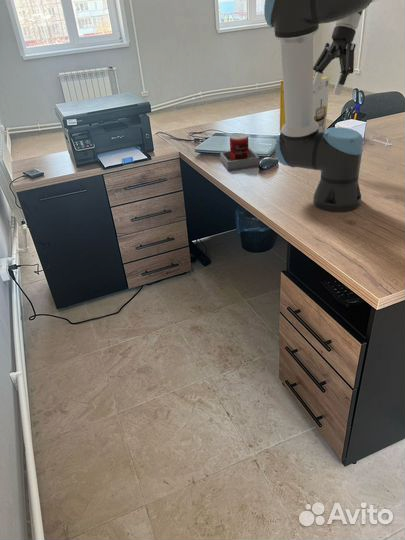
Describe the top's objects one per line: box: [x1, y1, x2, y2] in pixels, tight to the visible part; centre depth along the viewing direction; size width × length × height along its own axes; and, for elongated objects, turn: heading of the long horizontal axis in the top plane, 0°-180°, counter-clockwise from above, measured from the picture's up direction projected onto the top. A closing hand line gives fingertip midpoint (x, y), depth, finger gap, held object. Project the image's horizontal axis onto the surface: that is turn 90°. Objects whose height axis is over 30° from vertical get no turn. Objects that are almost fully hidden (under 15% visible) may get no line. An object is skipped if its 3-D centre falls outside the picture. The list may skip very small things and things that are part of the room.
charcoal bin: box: [219, 147, 260, 172], centre depth 172 cm, size 14×14×4 cm
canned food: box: [229, 133, 249, 161], centre depth 169 cm, size 8×8×11 cm
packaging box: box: [279, 75, 331, 133], centre depth 197 cm, size 16×16×25 cm
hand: (324, 92), depth 148 cm, fingers open, 13 cm apart
